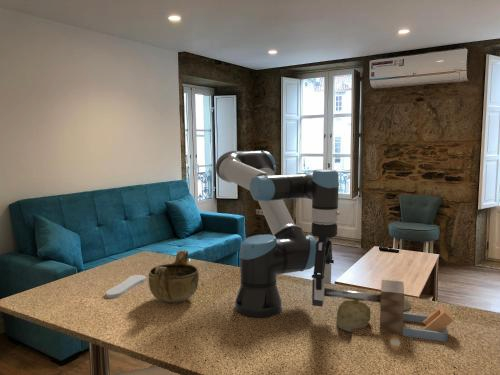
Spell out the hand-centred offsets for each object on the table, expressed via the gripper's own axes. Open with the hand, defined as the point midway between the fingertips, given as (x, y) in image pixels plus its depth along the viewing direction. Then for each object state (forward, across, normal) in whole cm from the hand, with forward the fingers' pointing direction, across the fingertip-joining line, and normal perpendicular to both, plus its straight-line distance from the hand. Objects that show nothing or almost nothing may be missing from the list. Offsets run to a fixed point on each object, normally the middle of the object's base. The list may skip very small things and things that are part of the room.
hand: (322, 291), depth 122 cm
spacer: (+7, 0, -29) cm, 30 cm away
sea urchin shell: (+9, +16, -21) cm, 28 cm away
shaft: (+4, 0, -8) cm, 9 cm away
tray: (+9, 0, -28) cm, 30 cm away
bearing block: (+9, 0, -20) cm, 22 cm away
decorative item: (+9, -2, -9) cm, 13 cm away
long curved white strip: (+10, +5, +74) cm, 75 cm away
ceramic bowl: (+10, 0, +51) cm, 52 cm away
